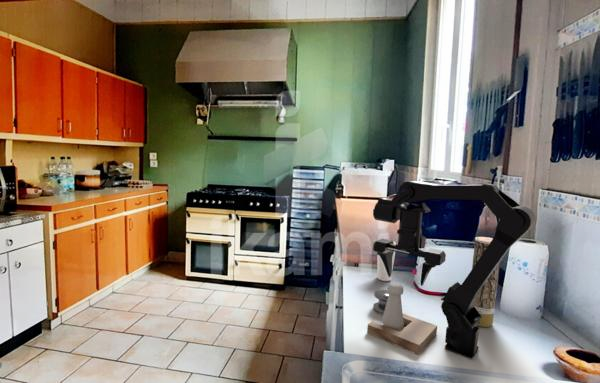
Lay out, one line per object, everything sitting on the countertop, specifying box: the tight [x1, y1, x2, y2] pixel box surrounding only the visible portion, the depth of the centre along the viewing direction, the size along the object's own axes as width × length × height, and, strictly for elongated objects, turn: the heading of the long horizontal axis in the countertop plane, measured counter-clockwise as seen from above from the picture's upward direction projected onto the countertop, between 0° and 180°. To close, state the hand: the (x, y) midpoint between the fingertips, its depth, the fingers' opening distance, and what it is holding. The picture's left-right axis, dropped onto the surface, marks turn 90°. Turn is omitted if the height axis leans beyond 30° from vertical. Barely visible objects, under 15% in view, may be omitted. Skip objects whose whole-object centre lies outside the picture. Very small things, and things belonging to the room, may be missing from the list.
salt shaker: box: [381, 282, 404, 332], centre depth 92 cm, size 6×6×13 cm
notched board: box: [366, 313, 438, 356], centre depth 90 cm, size 14×13×2 cm
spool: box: [372, 289, 389, 315], centre depth 104 cm, size 7×7×5 cm
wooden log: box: [471, 236, 501, 328], centre depth 98 cm, size 7×7×25 cm
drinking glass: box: [376, 240, 397, 282], centre depth 129 cm, size 7×7×15 cm
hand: (405, 280), depth 94 cm, fingers open, 9 cm apart
